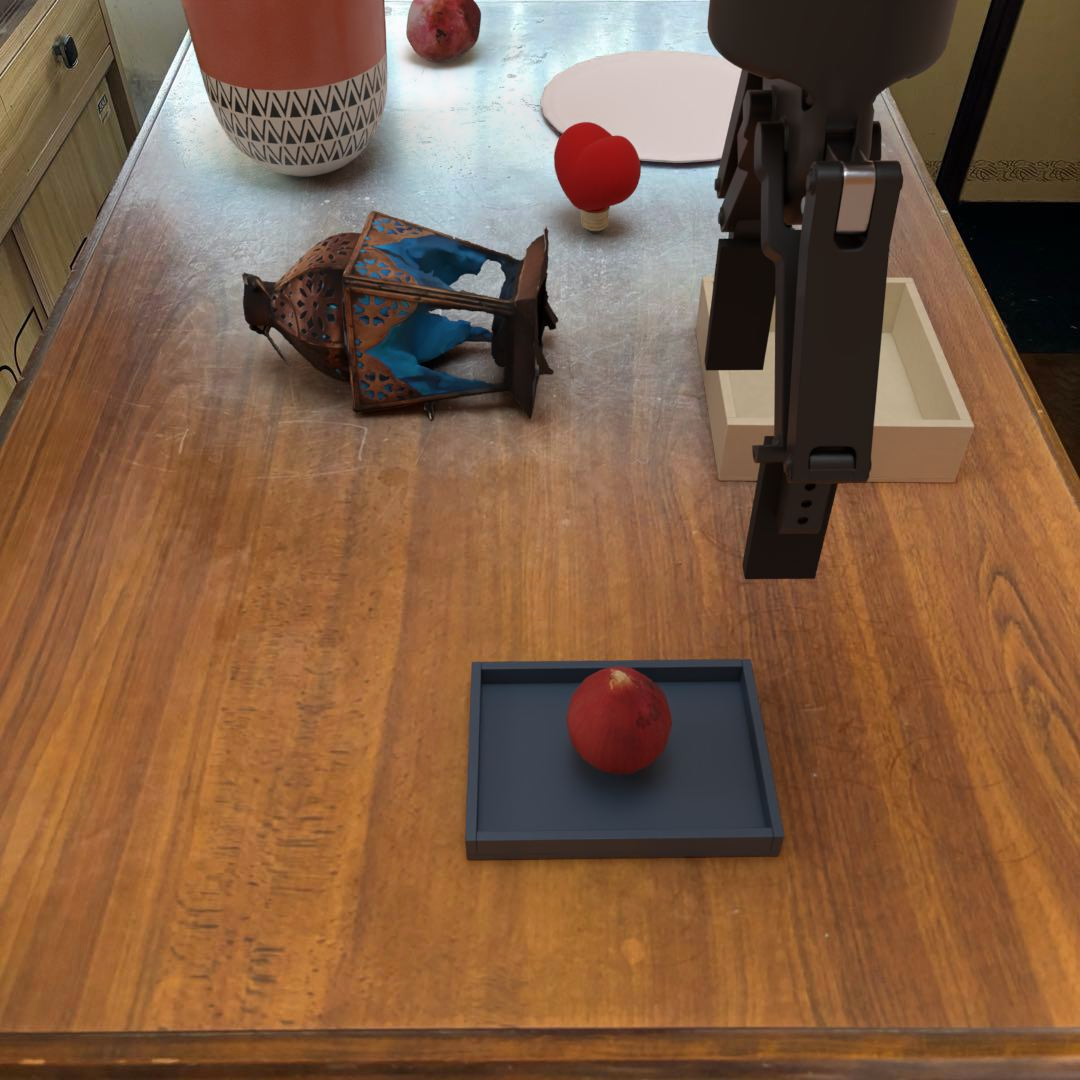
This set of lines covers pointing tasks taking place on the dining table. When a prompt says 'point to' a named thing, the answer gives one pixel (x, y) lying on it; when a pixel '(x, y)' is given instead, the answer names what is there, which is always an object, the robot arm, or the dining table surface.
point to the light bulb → (595, 171)
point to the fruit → (443, 28)
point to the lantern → (405, 313)
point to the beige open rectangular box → (901, 402)
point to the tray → (626, 799)
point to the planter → (293, 77)
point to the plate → (650, 101)
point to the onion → (619, 720)
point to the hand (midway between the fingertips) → (753, 459)
